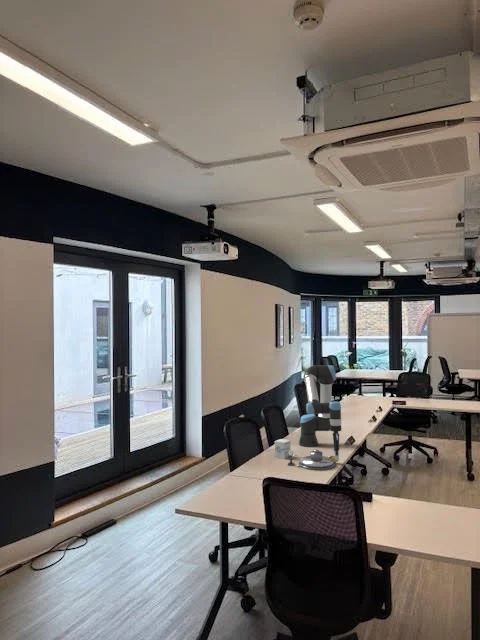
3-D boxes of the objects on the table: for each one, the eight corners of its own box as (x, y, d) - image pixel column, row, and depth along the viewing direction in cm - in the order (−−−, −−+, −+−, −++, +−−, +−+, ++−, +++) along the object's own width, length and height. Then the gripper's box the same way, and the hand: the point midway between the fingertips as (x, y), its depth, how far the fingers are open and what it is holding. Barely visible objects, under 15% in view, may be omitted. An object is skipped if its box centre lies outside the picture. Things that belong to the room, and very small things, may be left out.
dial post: (288, 463, 323) (288, 449, 323) (298, 464, 321) (297, 449, 321) (287, 465, 319) (287, 450, 319) (297, 466, 317) (297, 451, 317)
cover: (308, 458, 322) (308, 449, 322) (319, 457, 324) (319, 448, 324) (313, 462, 314) (313, 452, 314) (324, 460, 316) (324, 451, 316)
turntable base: (301, 459, 333) (301, 457, 333) (336, 460, 327) (336, 459, 327) (296, 469, 310) (296, 467, 310) (333, 471, 304) (333, 469, 304)
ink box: (281, 454, 347) (280, 438, 347) (291, 456, 342) (290, 440, 342) (274, 457, 340) (274, 440, 340) (284, 458, 335) (284, 442, 335)
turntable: (295, 460, 327) (295, 455, 327) (330, 456, 333) (330, 452, 333) (307, 469, 306) (307, 463, 306) (344, 465, 312) (344, 460, 312)
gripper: (328, 423, 327) (329, 457, 326) (331, 426, 314) (332, 462, 314) (339, 422, 327) (340, 457, 326) (342, 426, 314) (343, 462, 313)
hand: (336, 459), depth 320 cm, fingers closed
